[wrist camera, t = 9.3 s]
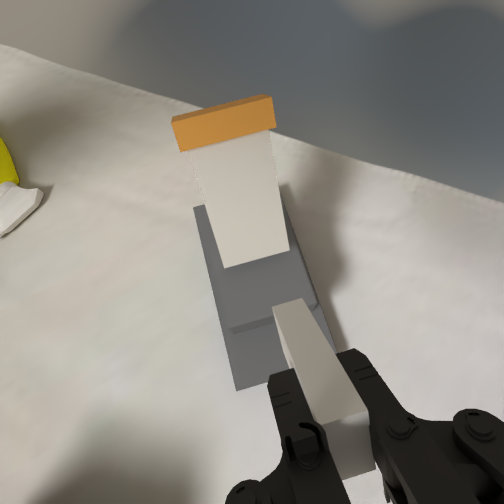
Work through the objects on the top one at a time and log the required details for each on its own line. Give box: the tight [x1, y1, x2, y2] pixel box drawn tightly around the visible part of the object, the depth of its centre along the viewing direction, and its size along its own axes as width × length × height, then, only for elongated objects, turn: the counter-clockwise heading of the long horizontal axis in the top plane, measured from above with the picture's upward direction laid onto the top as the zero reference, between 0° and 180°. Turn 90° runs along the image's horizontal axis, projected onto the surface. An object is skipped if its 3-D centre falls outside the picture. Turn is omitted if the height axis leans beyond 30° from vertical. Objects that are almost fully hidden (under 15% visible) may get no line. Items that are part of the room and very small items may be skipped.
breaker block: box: [193, 191, 337, 391], centre depth 33 cm, size 20×10×6 cm, turn 15°
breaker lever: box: [171, 94, 290, 268], centre depth 27 cm, size 3×7×13 cm
